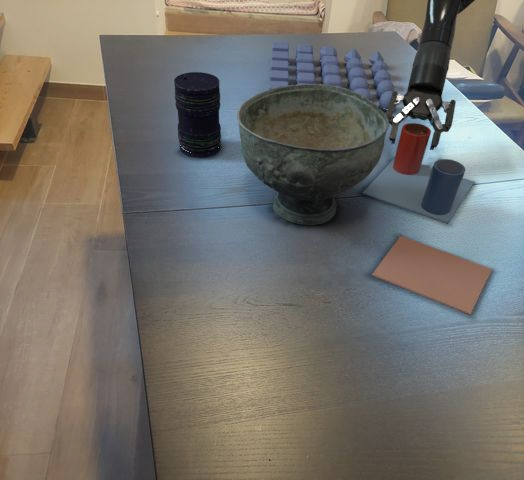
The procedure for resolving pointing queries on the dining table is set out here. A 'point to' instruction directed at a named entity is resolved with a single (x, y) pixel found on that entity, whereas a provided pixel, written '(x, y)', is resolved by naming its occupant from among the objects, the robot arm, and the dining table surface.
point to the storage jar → (198, 114)
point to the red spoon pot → (411, 148)
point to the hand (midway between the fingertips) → (412, 145)
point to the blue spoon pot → (442, 186)
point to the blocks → (331, 70)
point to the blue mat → (411, 191)
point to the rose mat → (433, 274)
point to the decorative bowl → (310, 145)
